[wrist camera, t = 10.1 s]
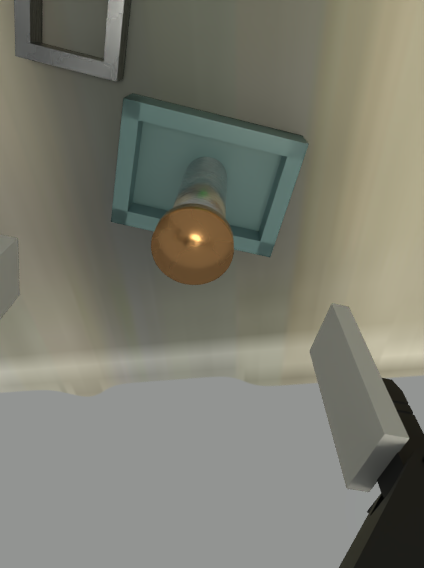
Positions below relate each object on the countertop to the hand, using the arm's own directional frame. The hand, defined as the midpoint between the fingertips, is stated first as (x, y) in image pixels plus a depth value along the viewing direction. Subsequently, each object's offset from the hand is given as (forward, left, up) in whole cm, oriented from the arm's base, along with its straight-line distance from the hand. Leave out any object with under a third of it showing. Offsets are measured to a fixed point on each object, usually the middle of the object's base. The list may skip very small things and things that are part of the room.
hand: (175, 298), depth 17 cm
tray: (0, 0, -19) cm, 19 cm away
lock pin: (0, 0, -18) cm, 18 cm away
